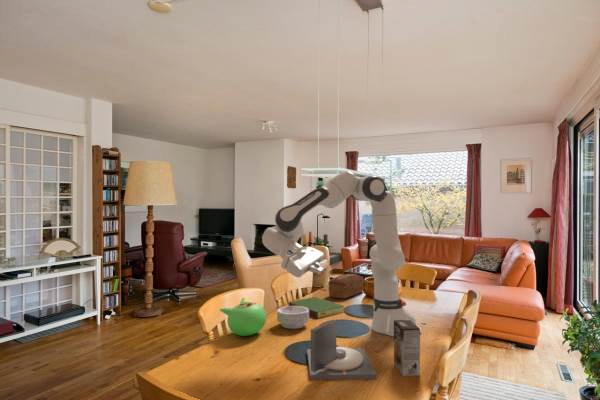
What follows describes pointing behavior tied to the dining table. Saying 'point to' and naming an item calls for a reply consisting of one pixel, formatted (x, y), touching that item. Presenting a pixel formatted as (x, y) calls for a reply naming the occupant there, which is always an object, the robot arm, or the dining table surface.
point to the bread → (345, 286)
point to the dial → (331, 350)
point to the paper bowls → (293, 316)
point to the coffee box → (407, 347)
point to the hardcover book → (318, 307)
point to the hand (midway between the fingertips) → (322, 272)
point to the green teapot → (245, 318)
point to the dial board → (358, 373)
